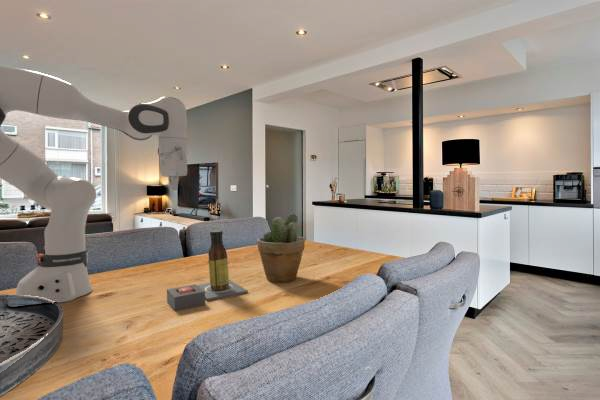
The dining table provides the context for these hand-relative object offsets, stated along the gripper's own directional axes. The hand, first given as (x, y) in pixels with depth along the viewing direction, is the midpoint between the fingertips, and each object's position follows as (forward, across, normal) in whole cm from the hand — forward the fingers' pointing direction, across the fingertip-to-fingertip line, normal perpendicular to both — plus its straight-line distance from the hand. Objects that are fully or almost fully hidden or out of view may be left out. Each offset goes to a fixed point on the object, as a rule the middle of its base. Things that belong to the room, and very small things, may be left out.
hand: (173, 190), depth 112 cm
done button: (+34, -12, 0) cm, 35 cm away
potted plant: (+34, -5, -38) cm, 52 cm away
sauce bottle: (+34, -6, -13) cm, 37 cm away
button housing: (+35, -12, 0) cm, 37 cm away
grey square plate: (+34, -6, -13) cm, 37 cm away
